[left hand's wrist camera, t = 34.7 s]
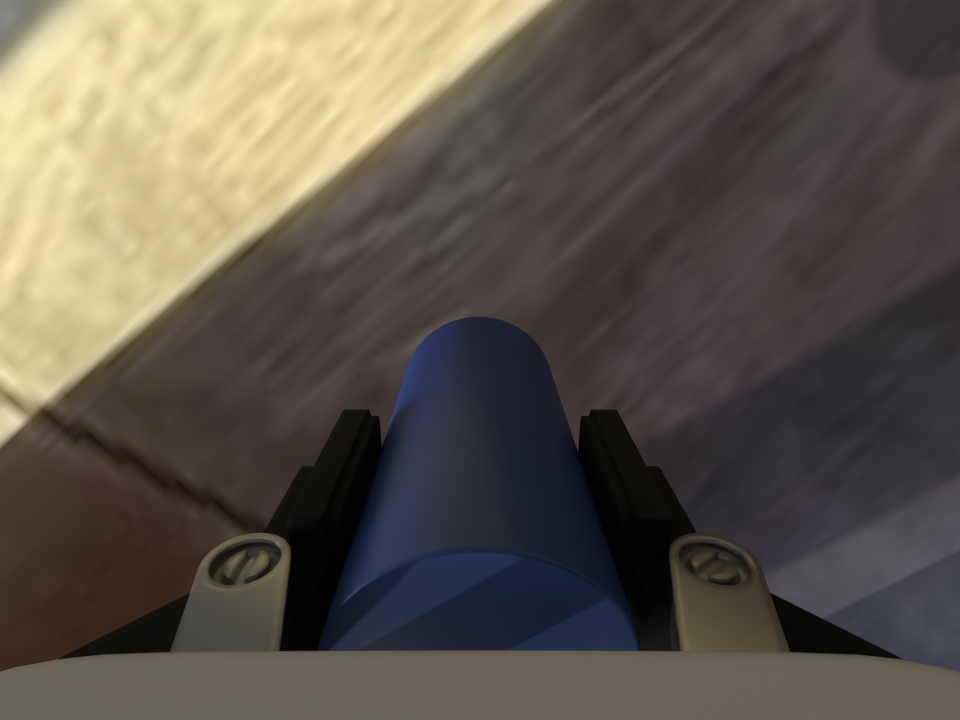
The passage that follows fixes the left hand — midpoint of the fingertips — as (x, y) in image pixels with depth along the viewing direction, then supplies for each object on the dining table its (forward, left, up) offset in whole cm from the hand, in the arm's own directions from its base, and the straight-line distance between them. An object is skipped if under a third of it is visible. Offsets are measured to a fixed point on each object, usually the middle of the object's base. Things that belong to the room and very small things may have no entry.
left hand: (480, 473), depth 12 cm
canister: (0, 0, -5) cm, 5 cm away
